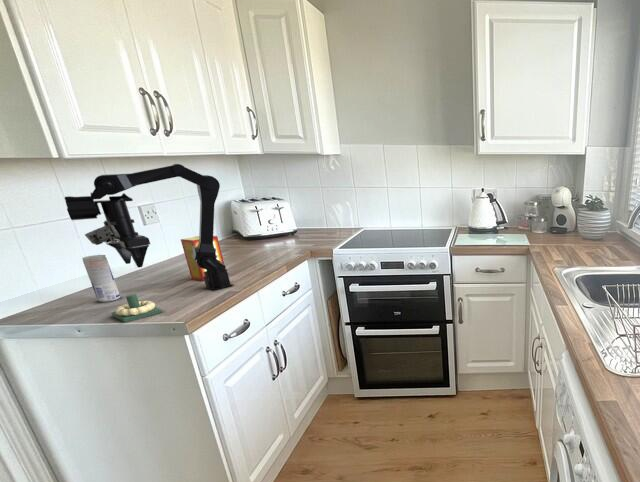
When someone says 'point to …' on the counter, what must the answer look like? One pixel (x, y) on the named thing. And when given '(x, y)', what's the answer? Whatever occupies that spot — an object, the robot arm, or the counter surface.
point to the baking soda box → (194, 269)
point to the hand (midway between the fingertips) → (134, 265)
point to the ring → (135, 309)
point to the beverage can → (101, 278)
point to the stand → (134, 303)
